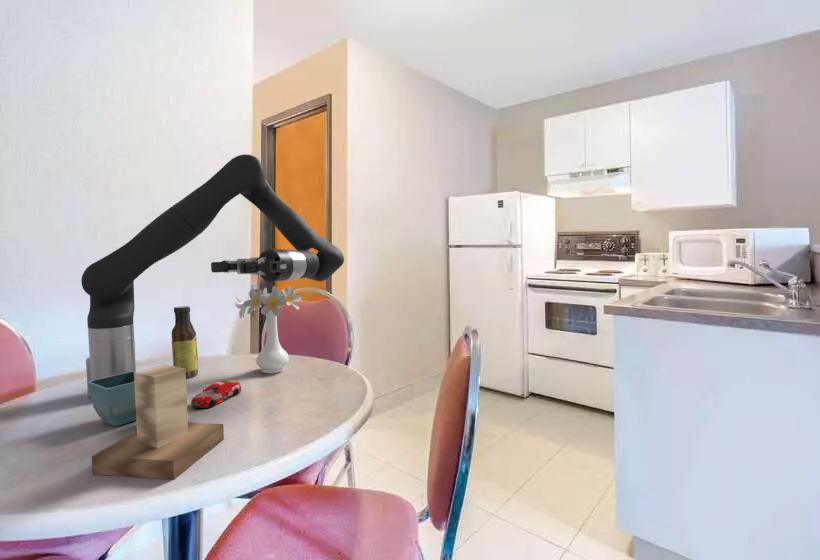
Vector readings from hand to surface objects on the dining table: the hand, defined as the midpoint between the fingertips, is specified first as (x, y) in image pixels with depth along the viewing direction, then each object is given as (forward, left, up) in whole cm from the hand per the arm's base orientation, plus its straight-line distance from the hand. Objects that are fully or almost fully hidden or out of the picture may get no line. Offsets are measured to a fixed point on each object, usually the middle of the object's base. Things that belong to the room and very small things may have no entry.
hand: (226, 267), depth 87 cm
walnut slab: (-3, -16, -32) cm, 36 cm away
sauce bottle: (-29, +28, -32) cm, 52 cm away
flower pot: (-22, -3, -32) cm, 39 cm away
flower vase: (-7, +35, -32) cm, 48 cm away
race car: (-10, +11, -32) cm, 36 cm away
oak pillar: (-3, -16, -29) cm, 33 cm away
